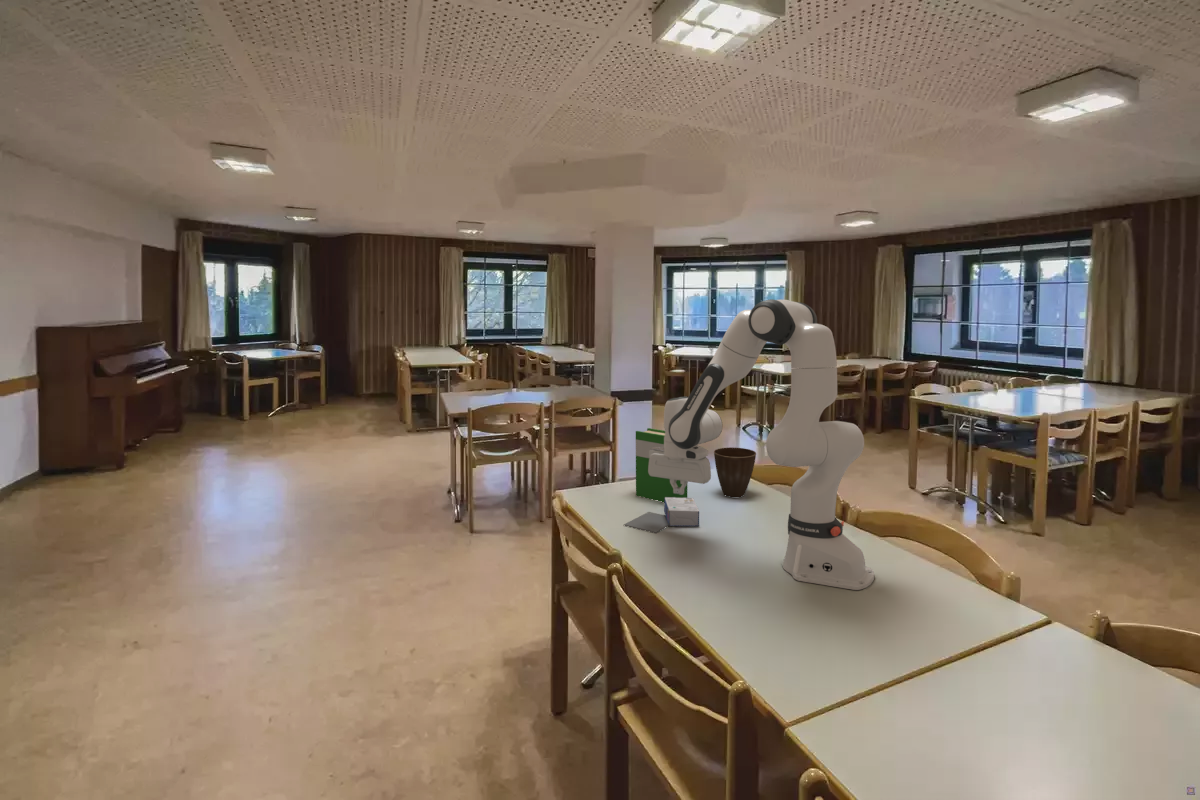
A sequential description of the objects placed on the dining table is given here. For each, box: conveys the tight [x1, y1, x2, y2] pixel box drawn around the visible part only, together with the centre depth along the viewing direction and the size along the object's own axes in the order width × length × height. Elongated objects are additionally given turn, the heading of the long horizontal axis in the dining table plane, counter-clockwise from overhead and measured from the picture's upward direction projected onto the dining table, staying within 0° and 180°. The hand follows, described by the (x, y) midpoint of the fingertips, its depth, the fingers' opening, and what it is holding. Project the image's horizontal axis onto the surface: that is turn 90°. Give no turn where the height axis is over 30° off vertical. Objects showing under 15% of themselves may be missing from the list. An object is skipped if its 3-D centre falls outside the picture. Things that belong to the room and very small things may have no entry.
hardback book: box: [635, 427, 688, 503], centre depth 229 cm, size 18×7×24 cm, turn 46°
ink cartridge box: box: [663, 497, 700, 527], centre depth 207 cm, size 10×6×14 cm
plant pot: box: [713, 446, 757, 498], centre depth 232 cm, size 15×15×16 cm
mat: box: [623, 511, 669, 534], centre depth 205 cm, size 12×15×1 cm
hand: (678, 493), depth 197 cm, fingers closed
